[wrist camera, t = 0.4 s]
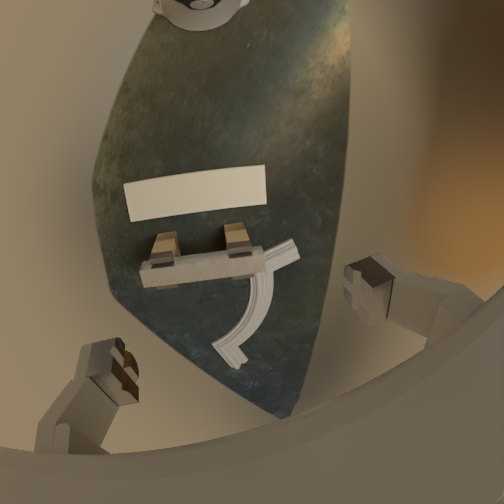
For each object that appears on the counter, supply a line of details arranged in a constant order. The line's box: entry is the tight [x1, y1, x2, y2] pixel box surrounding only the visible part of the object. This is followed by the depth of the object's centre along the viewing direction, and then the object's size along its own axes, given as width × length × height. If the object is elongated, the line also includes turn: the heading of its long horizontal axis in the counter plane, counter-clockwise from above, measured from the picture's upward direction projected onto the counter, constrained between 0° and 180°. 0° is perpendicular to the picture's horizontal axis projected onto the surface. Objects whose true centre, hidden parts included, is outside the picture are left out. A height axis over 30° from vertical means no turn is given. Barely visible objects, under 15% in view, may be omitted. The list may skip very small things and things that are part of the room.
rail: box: [139, 246, 266, 288], centre depth 49 cm, size 4×22×4 cm, turn 94°
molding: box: [212, 238, 300, 369], centre depth 68 cm, size 42×12×3 cm, turn 159°
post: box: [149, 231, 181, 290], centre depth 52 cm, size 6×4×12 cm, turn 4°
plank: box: [123, 164, 267, 222], centre depth 53 cm, size 8×28×1 cm, turn 94°
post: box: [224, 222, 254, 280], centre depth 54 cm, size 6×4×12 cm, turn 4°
